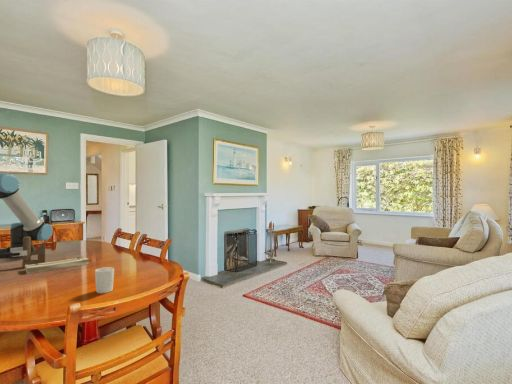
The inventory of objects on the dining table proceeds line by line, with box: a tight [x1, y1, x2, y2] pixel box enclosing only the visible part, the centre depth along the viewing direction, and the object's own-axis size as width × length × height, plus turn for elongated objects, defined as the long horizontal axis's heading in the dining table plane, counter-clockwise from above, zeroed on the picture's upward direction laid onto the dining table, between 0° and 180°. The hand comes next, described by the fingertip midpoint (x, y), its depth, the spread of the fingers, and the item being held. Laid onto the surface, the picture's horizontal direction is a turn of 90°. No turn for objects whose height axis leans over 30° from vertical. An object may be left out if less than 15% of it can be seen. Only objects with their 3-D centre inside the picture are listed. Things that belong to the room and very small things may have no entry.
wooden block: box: [21, 237, 46, 269], centre depth 169 cm, size 4×11×18 cm, turn 125°
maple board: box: [24, 256, 90, 275], centre depth 168 cm, size 10×30×3 cm, turn 135°
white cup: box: [94, 266, 115, 294], centre depth 130 cm, size 8×8×10 cm
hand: (25, 250), depth 166 cm, fingers open, 13 cm apart
